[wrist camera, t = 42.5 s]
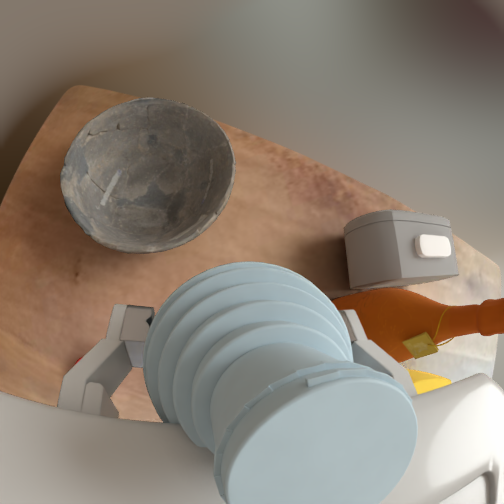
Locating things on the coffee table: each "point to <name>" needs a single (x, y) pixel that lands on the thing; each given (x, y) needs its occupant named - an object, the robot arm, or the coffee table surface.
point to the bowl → (148, 175)
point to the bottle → (276, 390)
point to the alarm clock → (399, 249)
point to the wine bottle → (418, 320)
